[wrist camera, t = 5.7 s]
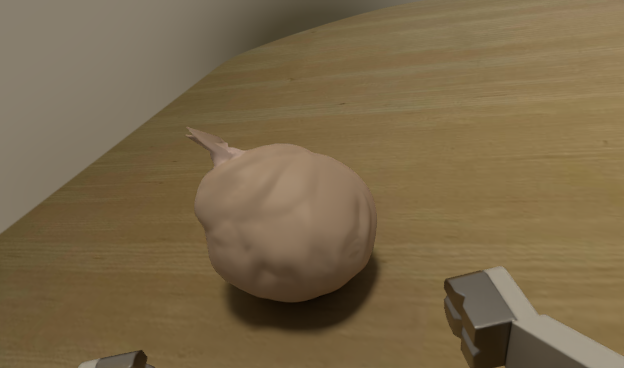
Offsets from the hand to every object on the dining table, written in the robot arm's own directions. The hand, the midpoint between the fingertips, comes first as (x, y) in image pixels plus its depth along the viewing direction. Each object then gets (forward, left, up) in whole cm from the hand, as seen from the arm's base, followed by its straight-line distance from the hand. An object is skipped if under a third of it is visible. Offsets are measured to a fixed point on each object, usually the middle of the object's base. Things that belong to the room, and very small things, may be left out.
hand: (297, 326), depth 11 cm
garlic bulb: (+1, +6, -5) cm, 8 cm away
